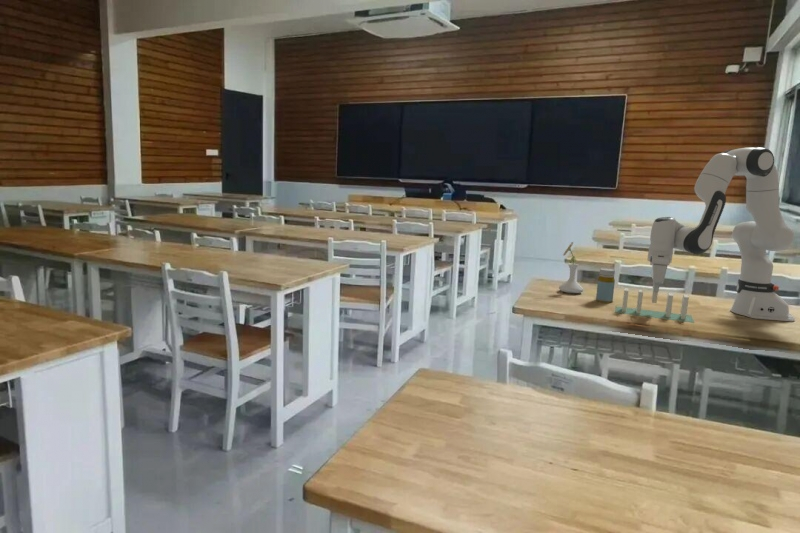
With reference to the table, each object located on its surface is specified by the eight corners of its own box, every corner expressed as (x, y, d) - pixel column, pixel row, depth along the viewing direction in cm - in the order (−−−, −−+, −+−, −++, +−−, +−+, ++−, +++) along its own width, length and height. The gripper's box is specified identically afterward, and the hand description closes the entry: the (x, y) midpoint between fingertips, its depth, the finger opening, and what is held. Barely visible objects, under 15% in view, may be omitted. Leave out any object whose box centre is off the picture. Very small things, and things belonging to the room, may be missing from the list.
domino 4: (684, 316, 215) (687, 295, 213) (685, 319, 211) (688, 297, 209) (680, 316, 216) (683, 294, 214) (681, 318, 211) (684, 297, 210)
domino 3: (669, 314, 217) (672, 293, 216) (670, 317, 213) (673, 295, 211) (665, 314, 218) (668, 292, 216) (666, 317, 213) (668, 295, 212)
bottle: (592, 300, 239) (595, 268, 237) (604, 299, 242) (607, 267, 240) (603, 304, 233) (607, 271, 231) (615, 303, 236) (619, 270, 233)
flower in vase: (565, 288, 263) (569, 238, 259) (587, 292, 256) (592, 241, 251) (552, 292, 254) (557, 240, 250) (574, 296, 246) (579, 243, 242)
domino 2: (652, 302, 214) (654, 280, 213) (651, 300, 219) (654, 278, 217) (656, 303, 214) (659, 281, 212) (655, 300, 218) (658, 279, 217)
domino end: (626, 309, 224) (628, 288, 222) (626, 312, 219) (628, 290, 217) (622, 308, 224) (624, 288, 223) (621, 311, 220) (624, 290, 218)
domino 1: (640, 311, 221) (642, 290, 220) (640, 313, 217) (643, 292, 215) (636, 310, 222) (638, 289, 220) (636, 313, 218) (638, 292, 216)
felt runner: (691, 316, 217) (691, 315, 217) (694, 324, 206) (694, 322, 206) (615, 307, 229) (615, 306, 228) (614, 313, 218) (614, 312, 218)
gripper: (650, 253, 224) (646, 285, 226) (652, 259, 205) (647, 294, 208) (667, 254, 221) (662, 287, 224) (670, 261, 203) (665, 296, 205)
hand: (655, 290), depth 216 cm, fingers closed on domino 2, 5 cm apart
